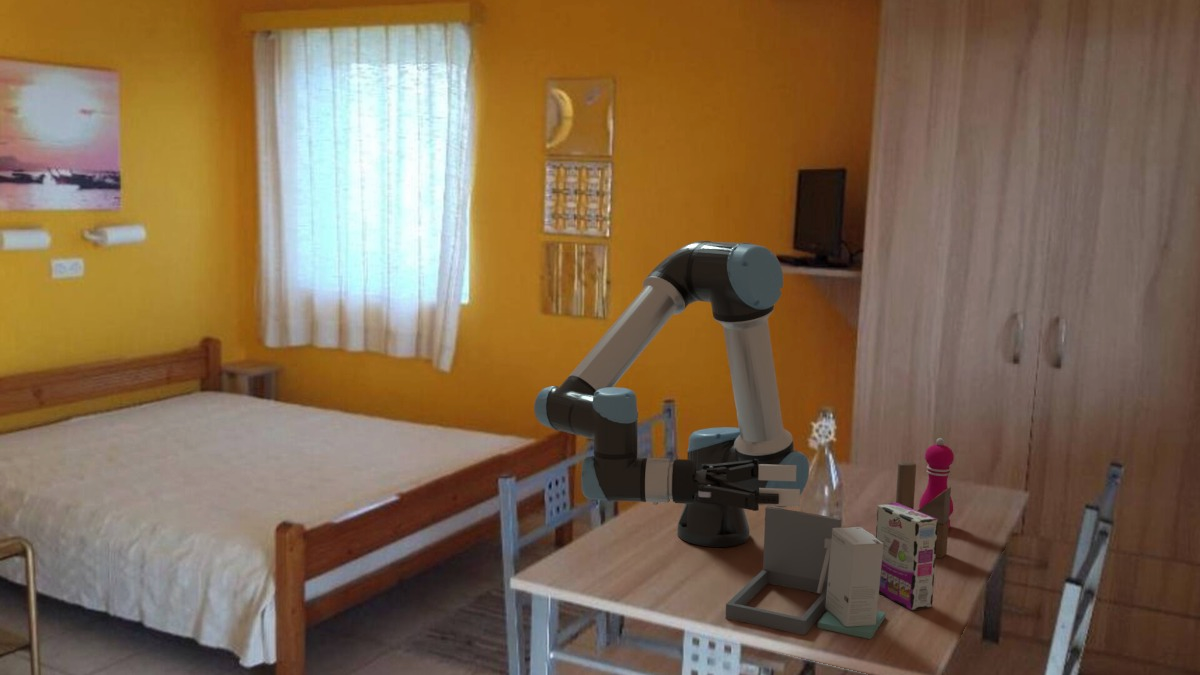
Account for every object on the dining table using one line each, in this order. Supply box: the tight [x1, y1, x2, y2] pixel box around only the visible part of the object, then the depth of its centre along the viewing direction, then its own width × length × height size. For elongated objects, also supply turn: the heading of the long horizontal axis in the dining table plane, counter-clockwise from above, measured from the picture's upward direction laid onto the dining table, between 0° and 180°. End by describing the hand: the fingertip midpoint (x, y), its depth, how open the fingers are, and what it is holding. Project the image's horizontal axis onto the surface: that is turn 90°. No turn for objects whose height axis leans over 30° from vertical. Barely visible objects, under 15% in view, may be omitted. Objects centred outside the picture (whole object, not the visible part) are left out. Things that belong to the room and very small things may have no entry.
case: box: [725, 505, 842, 636], centre depth 186 cm, size 14×20×14 cm
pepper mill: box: [918, 437, 955, 530], centre depth 231 cm, size 7×7×20 cm
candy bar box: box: [875, 502, 938, 611], centre depth 190 cm, size 11×5×16 cm, turn 24°
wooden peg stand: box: [895, 460, 952, 559], centre depth 216 cm, size 4×11×18 cm, turn 53°
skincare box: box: [825, 526, 884, 627], centre depth 179 cm, size 8×6×15 cm
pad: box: [817, 609, 886, 640], centre depth 180 cm, size 9×10×1 cm
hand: (798, 485), depth 178 cm, fingers open, 13 cm apart
